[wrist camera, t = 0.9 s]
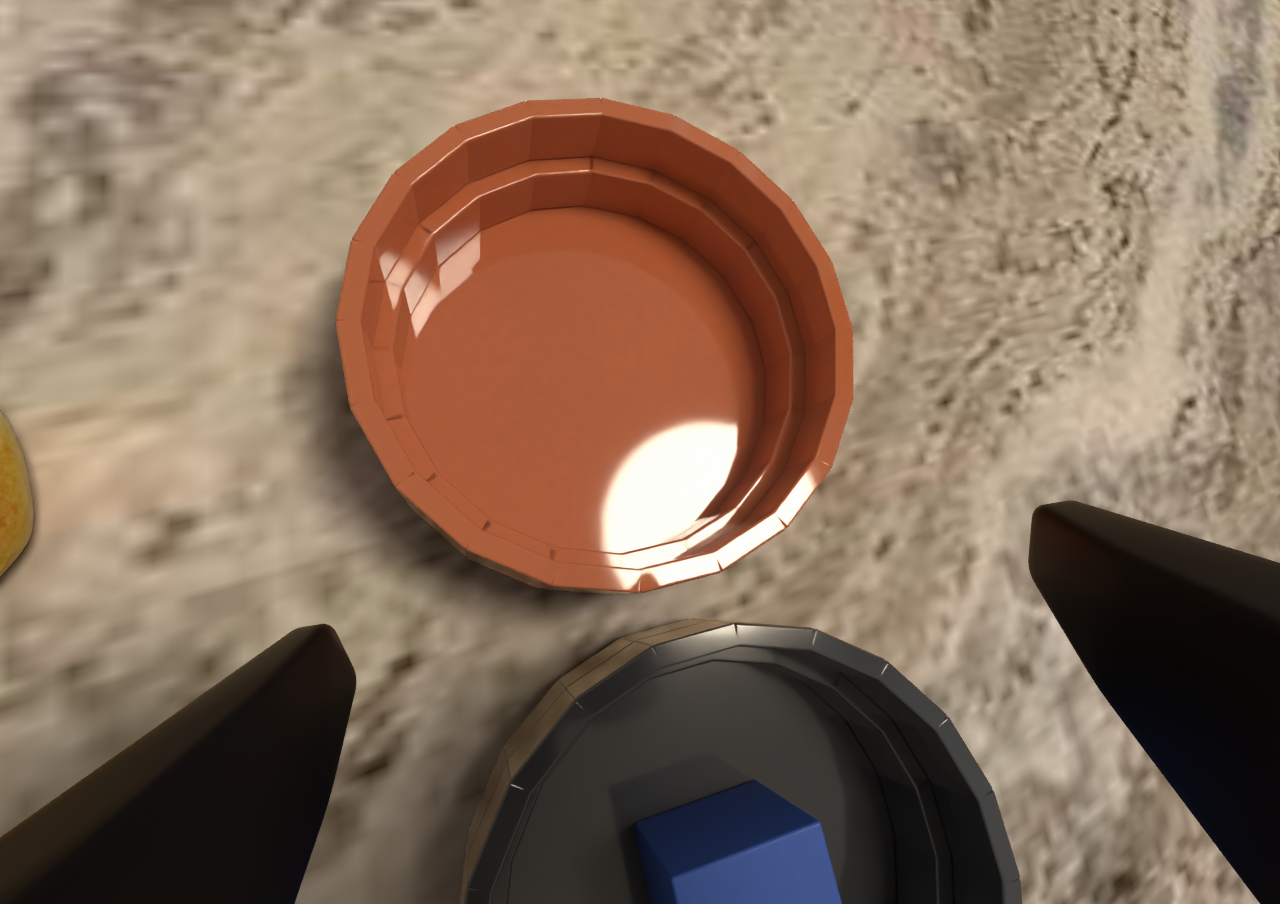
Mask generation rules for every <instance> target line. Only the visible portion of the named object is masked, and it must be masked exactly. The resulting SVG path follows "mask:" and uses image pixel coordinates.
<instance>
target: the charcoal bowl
mask: <svg viewBox="0 0 1280 904" xmlns="http://www.w3.org/2000/svg"><path fill="white" fill-rule="evenodd" d="M754 780H757V781H759V782H760V783H762V784H764V785H765V786H767V787H768V788H770V789H771V790H773V791H774V792H776V793H777V794H779V795H780V796H782V797H783V798H785V799H787V800H788V801H790V802H791V803H793V804H794V805H796V806H797V807H799V808H800V809H802V810H803V811H805V812H806V813H808V814H810V815H811V816H813V817H814V818H816V819H817V820H819V821H820V823H821V826H822V830H823V833H824V837H825V841H826V845H827V849H828V853H829V856H830V860H831V864H832V868H833V872H834V875H835V879H836V883H837V887H838V891H839V894H840V898H841V902H842V904H1022V893H1021V881H1020V879H1019V878H1020V875H1019V872H1018V868H1017V865H1016V862H1015V859H1014V855H1013V852H1012V849H1011V846H1010V842H1009V839H1008V836H1007V832H1006V829H1005V826H1004V823H1003V819H1002V816H1001V813H1000V810H999V806H998V803H997V800H996V796H995V793H994V791H993V790H992V787H991V785H990V783H989V782H988V780H987V778H986V777H985V775H984V774H983V772H982V770H981V769H980V767H979V766H978V764H977V762H976V761H975V759H974V757H973V756H972V754H971V753H970V751H969V749H968V748H967V746H966V744H965V743H964V741H963V740H962V738H961V736H960V735H959V733H958V731H957V730H956V728H955V727H954V725H953V723H952V722H951V720H950V718H949V717H948V716H947V715H946V714H945V713H944V712H943V711H942V710H941V709H940V708H939V707H938V706H937V705H936V704H934V703H933V702H932V701H931V700H930V699H929V698H928V697H927V696H926V695H924V694H923V693H922V692H921V691H920V690H919V689H918V688H917V687H916V686H914V685H913V684H912V683H911V682H910V681H909V680H908V679H907V678H906V677H905V676H903V675H902V674H901V673H900V672H899V671H898V670H897V669H896V668H895V667H893V666H892V665H891V664H890V663H889V662H887V661H885V660H884V659H883V658H881V657H878V656H876V655H874V654H872V653H869V652H867V651H865V650H862V649H860V648H858V647H856V646H853V645H851V644H849V643H847V642H844V641H842V640H840V639H837V638H835V637H833V636H831V635H828V634H826V633H824V632H822V631H819V630H817V629H812V628H807V627H795V626H783V625H771V624H759V623H746V622H733V621H719V620H705V619H686V620H682V621H679V622H675V623H671V624H668V625H664V626H660V627H657V628H653V629H649V630H646V631H642V632H638V633H635V634H631V635H627V636H624V637H623V638H621V639H618V640H617V641H615V642H614V643H612V644H611V645H609V646H608V647H606V648H605V649H603V650H602V651H600V652H599V653H597V654H596V655H594V656H593V657H591V658H590V659H588V660H587V661H585V662H584V663H582V664H581V665H579V666H578V667H576V668H575V669H573V670H572V671H570V672H569V673H567V674H566V675H564V676H563V677H561V678H560V679H559V681H556V682H555V683H554V684H553V686H552V687H551V688H550V689H549V691H548V692H547V693H546V694H545V695H544V697H543V698H542V699H541V700H540V702H539V703H538V704H537V705H536V707H535V708H534V709H533V710H532V711H531V713H530V714H529V715H528V716H527V718H526V719H525V720H524V721H523V723H522V724H521V725H520V726H519V727H518V729H517V730H516V731H515V732H514V734H513V735H512V736H511V737H510V739H509V740H508V741H507V742H506V743H505V747H504V748H503V749H502V751H501V754H500V756H499V758H498V761H497V763H496V766H495V768H494V770H493V773H492V775H491V777H490V780H489V782H488V785H487V787H486V789H485V792H484V794H483V796H482V799H481V801H480V803H479V806H478V808H477V811H476V813H475V815H474V818H473V820H472V822H471V825H470V830H469V832H468V838H467V847H466V855H465V863H464V871H463V880H462V888H461V896H460V904H650V899H649V895H648V890H647V886H646V881H645V876H644V872H643V867H642V863H641V858H640V854H639V849H638V845H637V840H636V835H635V831H634V824H635V823H636V822H639V821H642V820H645V819H647V818H650V817H653V816H656V815H659V814H661V813H664V812H667V811H670V810H673V809H676V808H678V807H681V806H684V805H687V804H690V803H692V802H695V801H698V800H701V799H704V798H706V797H709V796H712V795H715V794H718V793H720V792H723V791H726V790H729V789H732V788H735V787H737V786H740V785H743V784H746V783H749V782H751V781H754Z"/></svg>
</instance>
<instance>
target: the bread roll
mask: <svg viewBox="0 0 1280 904" xmlns="http://www.w3.org/2000/svg"><path fill="white" fill-rule="evenodd" d="M33 520H34V509H33V503H32V497H31V491H30V485H29V477H28V473H27V469H26V464H25V459H24V455H23V451H22V449H21V447H20V445H19V443H18V440H17V437H16V435H15V433H14V431H13V429H12V427H11V425H10V423H9V422H8V420H7V418H6V416H5V415H4V414H3V412H2V411H1V410H0V576H1V575H2V574H3V573H4V572H5V571H6V570H7V569H8V568H9V566H10V565H11V564H12V563H13V562H14V560H15V559H16V558H17V557H18V556H19V555H20V553H21V552H22V551H23V549H24V548H25V546H26V544H27V543H28V541H29V539H30V537H31V533H32V528H33Z"/></svg>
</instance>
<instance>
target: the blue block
mask: <svg viewBox="0 0 1280 904" xmlns="http://www.w3.org/2000/svg"><path fill="white" fill-rule="evenodd" d="M634 831H635V835H636V840H637V845H638V849H639V854H640V858H641V863H642V867H643V872H644V876H645V881H646V886H647V890H648V895H649V899H650V904H842V902H841V898H840V894H839V891H838V887H837V883H836V879H835V875H834V872H833V868H832V864H831V860H830V856H829V853H828V849H827V845H826V841H825V837H824V833H823V830H822V826H821V823H820V821H819V820H817V819H816V818H814V817H813V816H811V815H810V814H808V813H806V812H805V811H803V810H802V809H800V808H799V807H797V806H796V805H794V804H793V803H791V802H790V801H788V800H787V799H785V798H783V797H782V796H780V795H779V794H777V793H776V792H774V791H773V790H771V789H770V788H768V787H767V786H765V785H764V784H762V783H760V782H759V781H757V780H754V781H751V782H749V783H746V784H743V785H740V786H737V787H735V788H732V789H729V790H726V791H723V792H720V793H718V794H715V795H712V796H709V797H706V798H704V799H701V800H698V801H695V802H692V803H690V804H687V805H684V806H681V807H678V808H676V809H673V810H670V811H667V812H664V813H661V814H659V815H656V816H653V817H650V818H647V819H645V820H642V821H639V822H636V823H635V824H634Z"/></svg>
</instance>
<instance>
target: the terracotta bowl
mask: <svg viewBox="0 0 1280 904" xmlns="http://www.w3.org/2000/svg"><path fill="white" fill-rule="evenodd" d="M336 330H337V336H338V342H339V348H340V354H341V360H342V366H343V372H344V378H345V384H346V389H347V395H348V401H349V405H350V409H351V411H352V413H353V414H354V416H355V418H356V420H357V422H358V423H359V425H360V427H361V429H362V430H363V432H364V434H365V436H366V437H367V439H368V441H369V443H370V444H371V446H372V448H373V450H374V452H375V453H376V455H377V457H378V459H379V460H380V462H381V464H382V466H383V467H384V469H385V471H386V473H387V474H388V476H389V478H390V480H391V482H392V483H393V485H394V486H395V488H396V489H397V490H398V492H399V493H400V494H401V496H402V497H403V498H404V499H405V501H406V502H407V503H408V505H409V506H410V507H411V508H412V510H413V511H414V512H416V513H417V514H418V515H419V516H420V517H421V518H422V519H423V520H425V521H426V522H427V523H428V524H429V525H430V526H431V527H433V528H434V529H435V530H436V531H437V532H438V533H439V534H440V535H442V536H443V537H444V538H445V539H446V540H447V541H448V542H449V543H451V544H452V545H453V546H454V547H455V548H456V549H457V550H459V551H460V552H461V553H462V554H463V555H464V556H465V557H467V558H469V559H470V560H472V561H474V562H476V563H479V564H481V565H484V566H486V567H488V568H491V569H493V570H495V571H498V572H500V573H502V574H505V575H507V576H510V577H512V578H514V579H517V580H519V581H521V582H524V583H526V584H528V585H531V586H533V587H535V588H538V587H539V588H540V589H549V590H561V591H574V592H587V593H599V594H628V593H643V592H647V591H651V590H655V589H659V588H663V587H667V586H671V585H674V584H678V583H682V582H686V581H690V580H694V579H698V578H702V577H706V576H710V575H714V574H717V573H720V572H721V571H724V570H726V569H727V568H729V567H730V566H732V565H733V564H735V563H736V562H738V561H739V560H741V559H742V558H744V557H745V556H747V555H748V554H750V553H751V552H753V551H754V550H756V549H757V548H759V547H760V546H762V545H763V544H765V543H766V542H768V541H769V540H771V539H772V538H774V537H775V536H777V535H778V534H780V533H781V532H783V531H784V530H785V529H786V528H787V527H788V526H789V525H790V524H791V522H792V521H793V520H794V518H795V517H796V516H797V514H798V513H799V512H800V510H801V509H802V508H803V506H804V505H805V504H806V502H807V501H808V499H809V498H810V497H811V495H812V494H813V493H814V491H815V490H816V489H817V487H818V486H819V485H820V483H821V482H822V481H823V479H824V478H825V477H826V475H827V474H828V473H829V471H830V468H831V467H832V465H833V462H834V459H835V455H836V452H837V449H838V446H839V443H840V440H841V437H842V433H843V430H844V427H845V424H846V421H847V418H848V415H849V411H850V408H851V405H852V400H853V330H852V325H851V322H850V318H849V315H848V312H847V308H846V305H845V302H844V299H843V295H842V292H841V289H840V286H839V282H838V279H837V276H836V273H835V269H834V266H833V263H832V262H831V259H830V258H829V256H828V254H827V253H826V251H825V250H824V248H823V247H822V245H821V243H820V242H819V240H818V239H817V237H816V236H815V234H814V232H813V231H812V229H811V228H810V226H809V225H808V223H807V221H806V220H805V218H804V217H803V215H802V214H801V212H800V210H799V209H798V207H797V206H796V204H795V203H794V202H793V201H792V199H791V198H790V197H789V196H788V195H787V194H786V193H785V192H784V191H782V190H781V189H780V188H779V187H778V186H777V185H776V184H775V183H774V182H773V181H772V180H771V179H770V178H768V177H767V176H766V175H765V174H764V173H763V172H762V171H761V170H760V169H759V168H758V167H757V166H755V165H754V164H753V163H752V162H751V161H750V160H749V159H748V158H747V157H746V156H745V155H744V154H742V153H741V152H740V151H739V152H738V149H736V148H734V147H732V146H730V145H728V144H726V143H725V142H723V141H721V140H719V139H717V138H715V137H713V136H712V135H710V134H708V133H706V132H704V131H702V130H700V129H699V128H697V127H695V126H693V125H691V124H689V123H687V122H686V121H684V120H682V119H680V118H678V117H676V116H674V117H673V115H671V114H667V113H663V112H659V111H654V110H650V109H646V108H642V107H638V106H634V105H629V104H625V103H621V102H617V101H613V100H608V99H604V98H602V99H600V98H586V99H559V100H532V101H527V102H521V103H518V104H515V105H512V106H509V107H506V108H503V109H501V110H498V111H495V112H492V113H489V114H486V115H483V116H480V117H477V118H475V119H472V120H469V121H466V122H463V123H460V124H457V125H456V126H455V127H452V128H450V129H449V130H448V131H446V132H445V133H444V134H443V135H441V136H440V137H439V138H437V139H436V140H435V141H433V142H432V143H431V144H430V145H428V146H427V147H426V148H424V149H423V150H422V151H421V152H419V153H418V154H417V155H415V156H414V157H413V158H412V159H410V160H409V161H408V162H406V163H405V164H404V165H402V166H401V167H400V168H399V169H397V170H396V171H395V172H394V174H392V176H391V177H390V179H389V180H388V182H387V184H386V185H385V187H384V188H383V190H382V192H381V193H380V195H379V196H378V198H377V199H376V201H375V203H374V204H373V206H372V207H371V209H370V211H369V212H368V214H367V215H366V217H365V219H364V220H363V222H362V223H361V225H360V227H359V228H358V230H357V231H356V233H355V235H354V236H353V238H352V241H351V243H350V248H349V253H348V258H347V263H346V268H345V273H344V278H343V283H342V288H341V293H340V298H339V303H338V308H337V313H336Z"/></svg>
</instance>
